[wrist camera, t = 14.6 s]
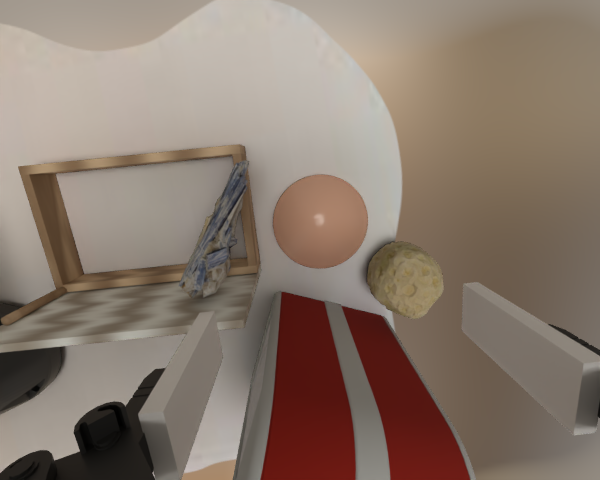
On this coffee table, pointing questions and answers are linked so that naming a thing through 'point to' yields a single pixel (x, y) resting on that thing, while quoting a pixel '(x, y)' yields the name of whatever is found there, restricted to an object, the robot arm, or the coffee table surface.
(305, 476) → the red striped box
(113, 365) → the coffee table surface
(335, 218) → the peach round smooth part
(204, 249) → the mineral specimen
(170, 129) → the coffee table surface
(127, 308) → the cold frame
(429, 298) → the decorative object
